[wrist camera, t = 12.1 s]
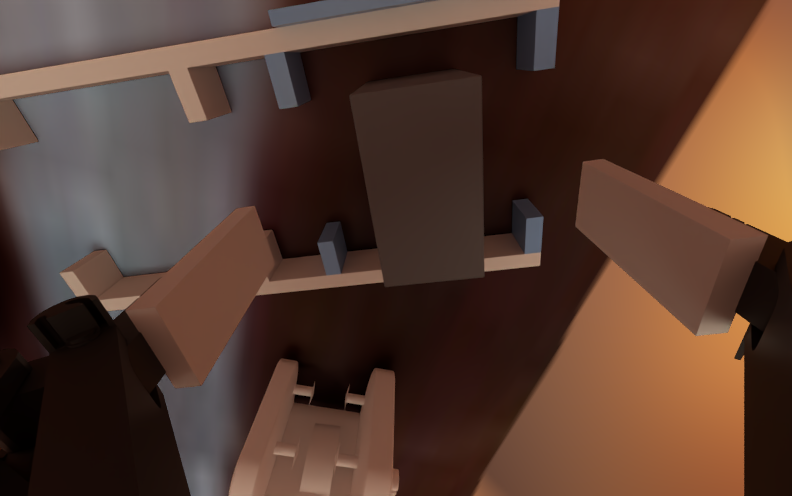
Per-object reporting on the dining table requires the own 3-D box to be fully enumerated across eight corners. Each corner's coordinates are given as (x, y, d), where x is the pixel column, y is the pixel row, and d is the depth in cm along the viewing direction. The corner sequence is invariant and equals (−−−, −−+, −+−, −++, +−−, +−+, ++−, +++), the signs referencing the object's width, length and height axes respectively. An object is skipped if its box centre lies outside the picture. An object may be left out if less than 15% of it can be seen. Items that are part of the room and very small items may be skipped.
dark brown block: (388, 221, 24) (382, 287, 17) (366, 81, 20) (346, 95, 13) (462, 212, 24) (486, 276, 17) (455, 68, 20) (484, 75, 13)
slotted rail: (118, 288, 28) (79, 320, 24) (-22, 72, 20) (-106, 75, 17) (525, 243, 25) (544, 272, 22) (538, -25, 17) (570, -43, 14)
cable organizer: (283, 335, 30) (222, 479, 20) (402, 356, 31) (401, 504, 21) (274, 437, 37) (225, 580, 27) (370, 451, 38) (358, 595, 28)
